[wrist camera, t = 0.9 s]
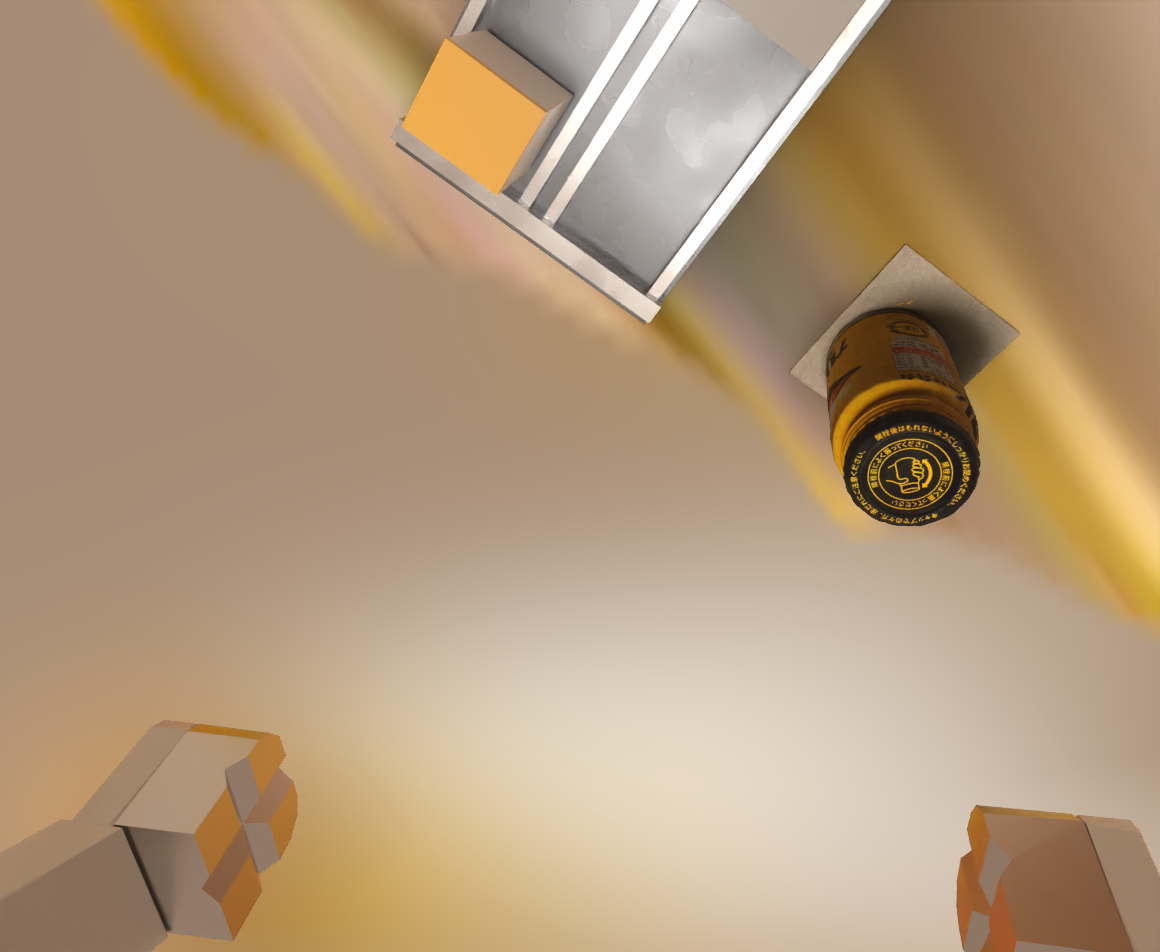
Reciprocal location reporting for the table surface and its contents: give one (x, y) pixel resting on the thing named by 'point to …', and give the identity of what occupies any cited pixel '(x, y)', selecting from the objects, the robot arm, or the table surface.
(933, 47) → the table surface
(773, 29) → the block
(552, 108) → the fader
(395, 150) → the table surface
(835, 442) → the condiment
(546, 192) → the grey tray
